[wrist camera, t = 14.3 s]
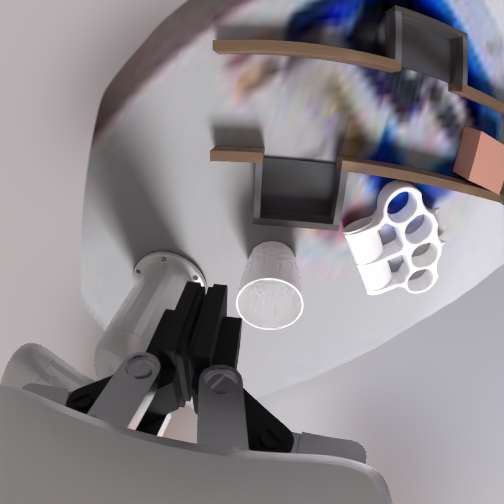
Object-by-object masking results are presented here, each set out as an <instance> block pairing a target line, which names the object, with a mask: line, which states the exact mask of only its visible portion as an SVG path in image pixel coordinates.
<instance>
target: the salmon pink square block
mask: <svg viewBox="0 0 504 504" xmlns="http://www.w3.org/2000/svg"><path fill="white" fill-rule="evenodd" d="M453 172H455V173H457V174H459V175H460V176H462V177H464V178H466V179H467V180H469V181H471V182H474V183H476V184H478V185H480V186H482V187H484V188H486V189H488V190H490V191H492V192H494V193H496V194H498V195H499V194H500V191H501V188H502V185H503V181H504V145H503V144H502V143H500V142H499V141H497V140H495V139H494V138H492V137H491V136H489V135H487V134H486V133H484V132H482V131H479V130H476V129H473V128H469V127H465V126H464V130H463V134H462V138H461V142H460V146H459V150H458V154H457V157H456V161H455V165H454V168H453Z"/></svg>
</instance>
